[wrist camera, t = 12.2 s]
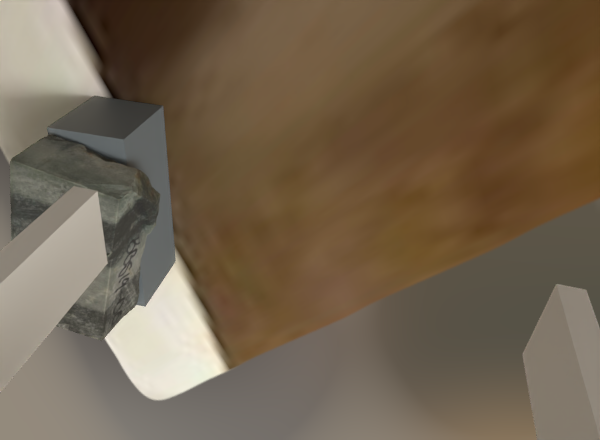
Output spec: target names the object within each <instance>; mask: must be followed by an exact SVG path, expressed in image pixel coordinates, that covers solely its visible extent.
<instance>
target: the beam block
mask: <svg viewBox="0 0 600 440" xmlns="http://www.w3.org/2000/svg"><path fill="white" fill-rule="evenodd" d="M47 130H48V135H50V134H53V135H55V136H57V137H60V138H63V139H66V140H69V141H72V142H75V143H78V144H81V145H85V146H86V147H87V148H88V149H89V150H91V151H93V152H96V153H98V154H99V155H101V156H102V157H105V158H106V159H111V160H114V161H116V162H117V163H120V164H123V165H126V166H128V167H132V168H136V169H138V170H141V171H142V172H143V173H144V174H146V175H147V177H148V178H149V180H150V183H151V185H152V187H153V188H154V189H155V190H156V191H158V193H160V203H159V213H158V216H157V220H156V226H155V227H154V228H153V230H152V231H151V233H150V234H148V235H147V238H146V242H145V248H144V252H143V254H142V257H141V263H140V269H141V270H140V278H139V292H140V293H139V298H138V302H137V304H136V305H141V306H146V305H147V303H148V302H149V300H150V299H151V297H152V296H153V294H154V293H155V291H156V290H157V288H158V287H159V285H160V284H161V282H162V281H163V279H164V278H165V276H166V275H167V273H168V272H169V270H170V269H171V267H172V266H173V264H174V263H175V261H176V260H175V248H174V235H173V223H172V211H171V198H170V186H169V174H168V161H167V149H166V136H165V124H164V112H163V106H160V105H154V104H147V103H140V102H133V101H126V100H119V99H113V98H106V97H99V96H94V97H92V98H91V99H89V100H88V101H86V102H85V103H83V104H82V105H80V106H79V107H77V108H76V109H74V110H73V111H71V112H70V113H68V114H67V115H65V116H63V117H62V118H60V119H59V120H57V121H56V122H54V123H53V124H51V125H50V126H48V127H47Z"/></svg>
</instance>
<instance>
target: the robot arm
mask: <svg viewBox="0 0 600 440" xmlns="http://www.w3.org/2000/svg"><path fill="white" fill-rule="evenodd" d="M107 264H108V262H107V255H106V248H105V241H104V234H103V227H102V219H101V212H100V205H99V198H98V191H95V190H90V189H85V188H80V187H76V186H73V187H72V188H71V189H70V190H69V191H67V192H66V193H65V194H64V195H63V196H62V197H61V198H60V199H58V200H57V201H56V202H55V203H54V204H53V205H52V206H50V207H49V208H48V209H47V210H46V211H45V212H44V213H42V214H41V215H40V216H39V217H38V218H37V219H36V220H34V221H33V222H32V223H31V224H30V225H29V226H28V227H27V228H25V229H24V230H23V231H22V232H21V233H20V234H19V235H17V236H16V237H15V238H14V239H13V240H12V241H11V242H10V243H9V244H7V245H6V246H5V247H4V248H3V249H2V250H0V392H1V391H2V390H3V389H4V388H5V386H6V385H7V384H8V383H9V381H10V380H11V379H12V378H13V377H14V375H15V374H16V373H17V372H18V371H19V369H20V368H21V367H22V366H23V365H24V363H25V362H26V361H27V360H28V359H29V357H30V356H31V355H32V354H33V353H34V351H35V350H36V349H37V348H38V347H39V345H40V344H41V343H42V342H43V341H44V339H45V338H46V337H47V336H48V335H49V333H50V332H51V331H52V330H53V329H54V327H55V326H56V325H57V324H58V323H59V321H60V320H61V319H62V318H63V317H64V315H65V314H66V313H67V312H68V311H69V309H70V308H71V307H72V306H73V304H74V303H75V302H76V301H77V300H78V298H79V297H80V296H81V295H82V294H83V292H84V291H85V290H86V289H87V288H88V286H89V285H90V284H91V283H92V282H93V280H94V279H95V278H96V277H97V276H98V274H99V273H100V272H101V271H102V270H103V268H104V267H105V266H106V265H107ZM522 355H523V361H524V367H525V372H526V378H527V384H528V390H529V396H530V401H531V407H532V413H533V418H534V424H535V430H536V436H537V440H600V328H599V325H598V322H597V319H596V317H595V314H594V311H593V308H592V305H591V302H590V299H589V296H588V294H587V291H586V290H584V289H579V288H574V287H569V286H565V285H560V284H556V286H555V288H554V290H553V292H552V294H551V296H550V298H549V300H548V302H547V304H546V306H545V308H544V311H543V313H542V315H541V317H540V319H539V321H538V323H537V325H536V327H535V329H534V332H533V333H532V335H531V338H530V340H529V342H528V344H527V346H526V348H525V350H524V352H523V354H522Z"/></svg>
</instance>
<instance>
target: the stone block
mask: <svg viewBox="0 0 600 440" xmlns="http://www.w3.org/2000/svg"><path fill="white" fill-rule="evenodd" d="M73 186H76V187H80V188H85V189H90V190H95V191H98V198H99V205H100V212H101V219H102V227H103V234H104V241H105V248H106V255H107V262H108V264H107V265H106V266H105V267H104V268H103V270H102V271H101V272H100V273H99V274H98V276H97V277H96V278H95V279H94V280H93V282H92V283H91V284H90V285H89V286H88V288H87V289H86V290H85V291H84V292H83V294H82V295H81V296H80V297H79V298H78V300H77V301H76V302H75V303H74V304H73V306H72V307H71V308H70V309H69V311H68V312H67V313H66V314H65V315H64V317H63V318H62V319H61V320H60V321H59V323H58V324H57V325H56V326H57V327H60V328H63V329H66V330H70V331H73V332H76V333H79V334H83V335H85V336H89V337H92V338H95V339H98V340H103V339H104V338H105V337H106V336H107V334H108V333H109V332H110V331H111V330H112V329H113V328H114V326H115V325H116V324H117V323H118V322H119V321H120V319H121V318H122V317H123V316H125V315H126V314H127V313H128V312H129V311H130V310H132V309H133V308H134V307H135V306H136V304H137V302H138V298H139V293H140V292H139V278H140V270H141V269H140V263H141V257H142V254H143V252H144V248H145V242H146V238H147V235H148V234H150V233H151V231H152V230H153V228H154V227H155V226H156V220H157V216H158V213H159V203H160V193H158V191H156V190H155V189H154V188H153V187H152V185H151V183H150V180H149V178H148V177H147V175H146V174H144V173H143V172H142V171H141V170H138V169H136V168H132V167H128V166H126V165H123V164H120V163H117V162H116V161H114V160H111V159H106V158H105V157H102V156H101V155H99V154H98V153H96V152H93V151H91V150H89V149H88V148H87V147H86V146H85V145H81V144H78V143H75V142H72V141H69V140H66V139H63V138H60V137H57V136H55V135H53V134H50V135H48V136H47V137H44V138H42V139H41V140H39V141H38V142H37V143H35V144H33V145H31V146H30V147H28V148H27V149H26V150H24V151H23V152H21V153H20V154H18V155H17V156H15V157H13V158H12V160H11V162H10V195H11V196H10V197H11V211H12V213H11V241H12V240H13V239H14V238H15V237H16V236H17V235H19V234H20V233H21V232H22V231H23V230H24V229H25V228H27V227H28V226H29V225H30V224H31V223H32V222H33V221H34V220H36V219H37V218H38V217H39V216H40V215H41V214H42V213H44V212H45V211H46V210H47V209H48V208H49V207H50V206H52V205H53V204H54V203H55V202H56V201H57V200H58V199H60V198H61V197H62V196H63V195H64V194H65V193H66V192H67V191H69V190H70V189H71V188H72V187H73Z"/></svg>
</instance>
